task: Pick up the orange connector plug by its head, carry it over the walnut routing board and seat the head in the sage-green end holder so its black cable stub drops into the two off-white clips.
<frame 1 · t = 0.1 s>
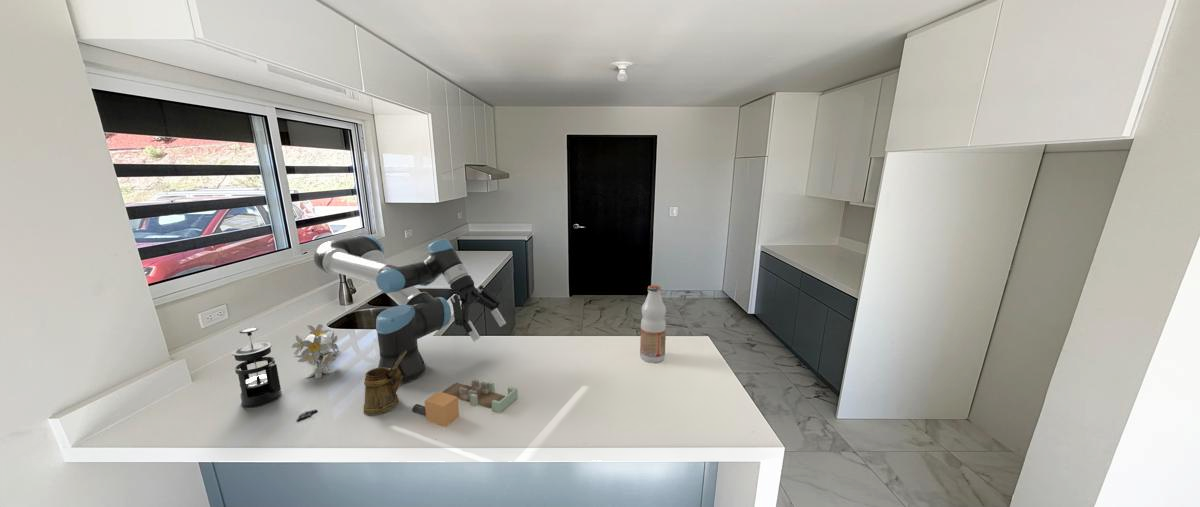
hand: (490, 332, 129), 15 cm above the worktop, tool tilted 35°, fingers open, 13 cm apart
fruit juice: (652, 358, 144), on the worktop
route board: (477, 399, 117), on the worktop
french press: (263, 399, 117), on the worktop
plug: (433, 418, 107), on the worktop
flower vase: (319, 364, 139), on the worktop
end holder: (493, 400, 114), resting on route board
wooden mug: (389, 406, 113), on the worktop
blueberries: (307, 418, 108), on the worktop
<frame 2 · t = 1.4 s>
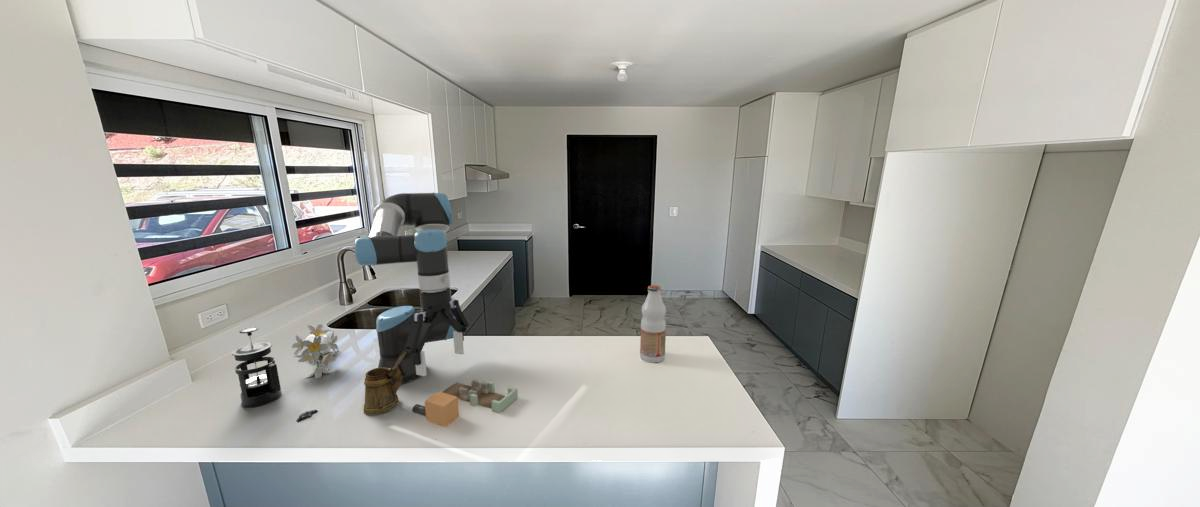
hand: (441, 363, 103), 17 cm above the worktop, tool pointing down, fingers open, 13 cm apart
nothing on the worktop moved.
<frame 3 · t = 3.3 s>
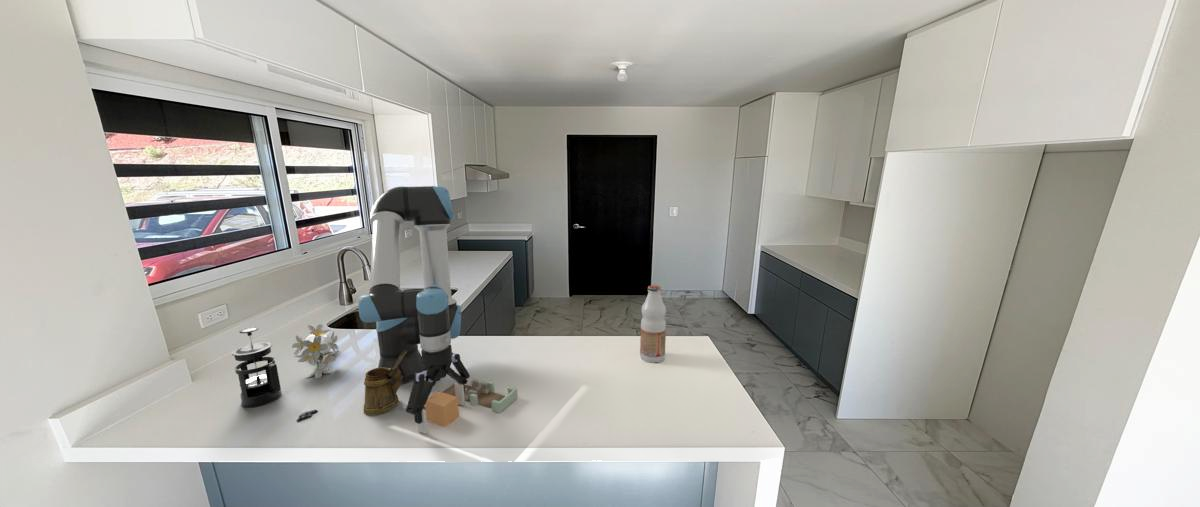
hand: (442, 417, 106), 1 cm above the worktop, tool pointing down, fingers open, 13 cm apart
nothing on the worktop moved.
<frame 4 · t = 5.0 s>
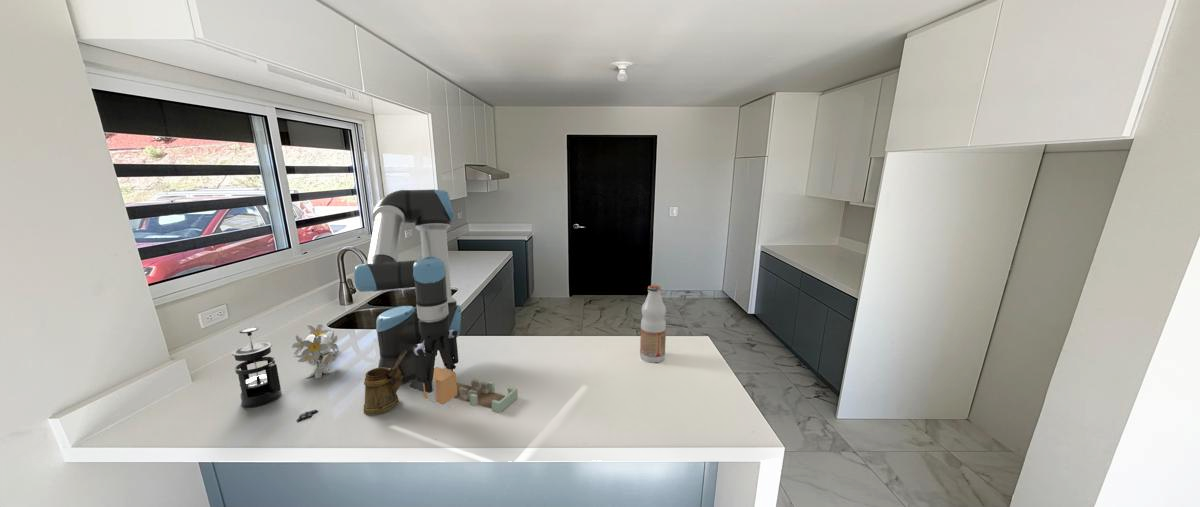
hand: (440, 395, 105), 8 cm above the worktop, tool pointing down, fingers closed on plug, 5 cm apart
plug: (431, 393, 107), point 7 cm above the worktop, touching gripper
everything else where it was.
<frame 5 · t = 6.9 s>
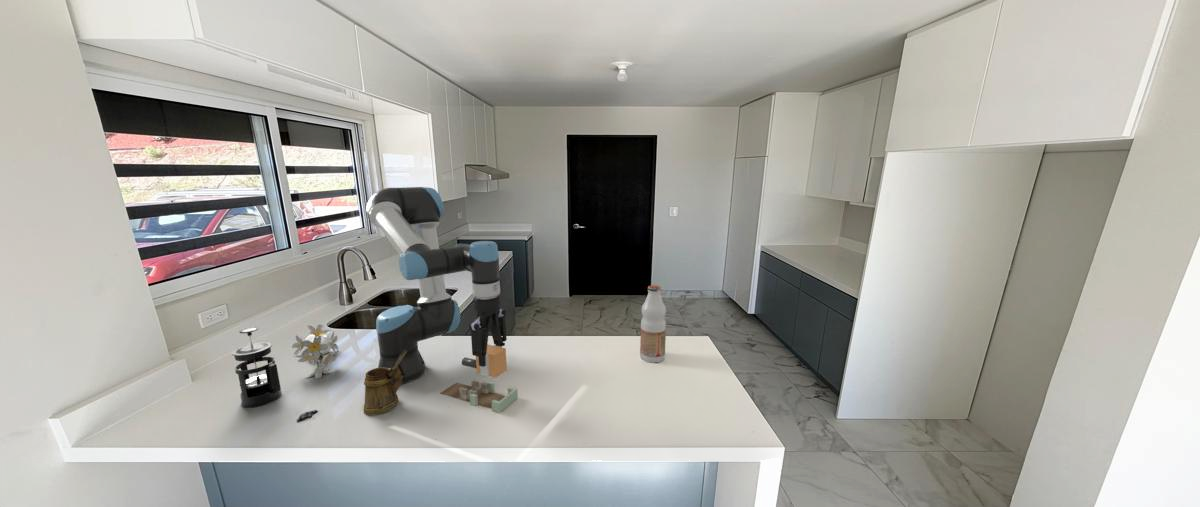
hand: (491, 370, 112), 11 cm above the worktop, tool pointing down, fingers closed on plug, 5 cm apart
plug: (482, 369, 114), point 11 cm above the worktop, touching gripper
everything else where it was.
when the fingers open (2 cm above the worktop, at t = 9.1 s): plug stays where it is, resting on route board.
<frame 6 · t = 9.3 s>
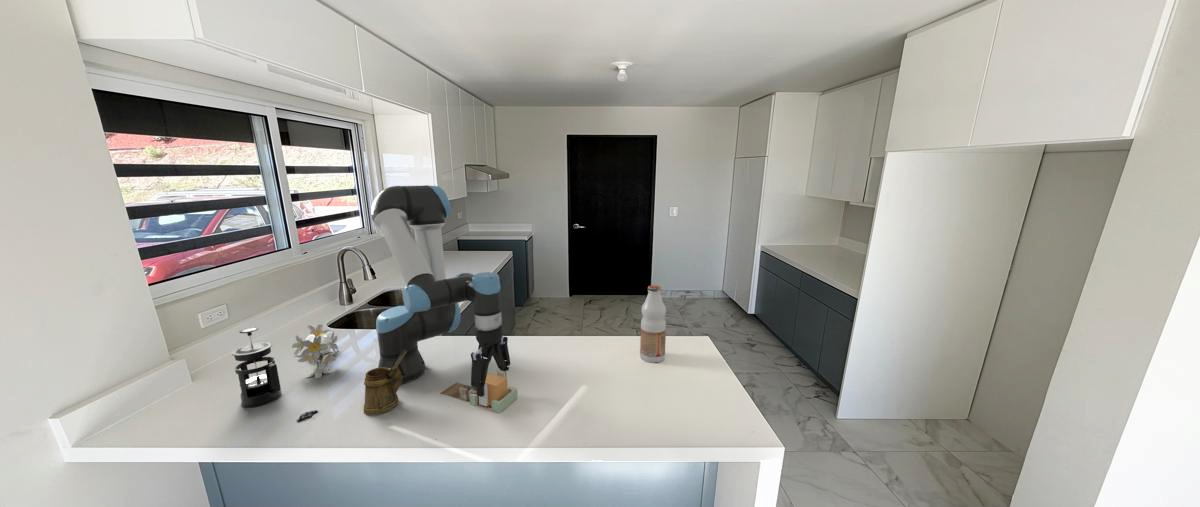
hand: (493, 397, 114), 2 cm above the worktop, tool pointing down, fingers open, 8 cm apart
plug: (484, 397, 115), point 1 cm above the worktop, touching route board
everything else where it was.
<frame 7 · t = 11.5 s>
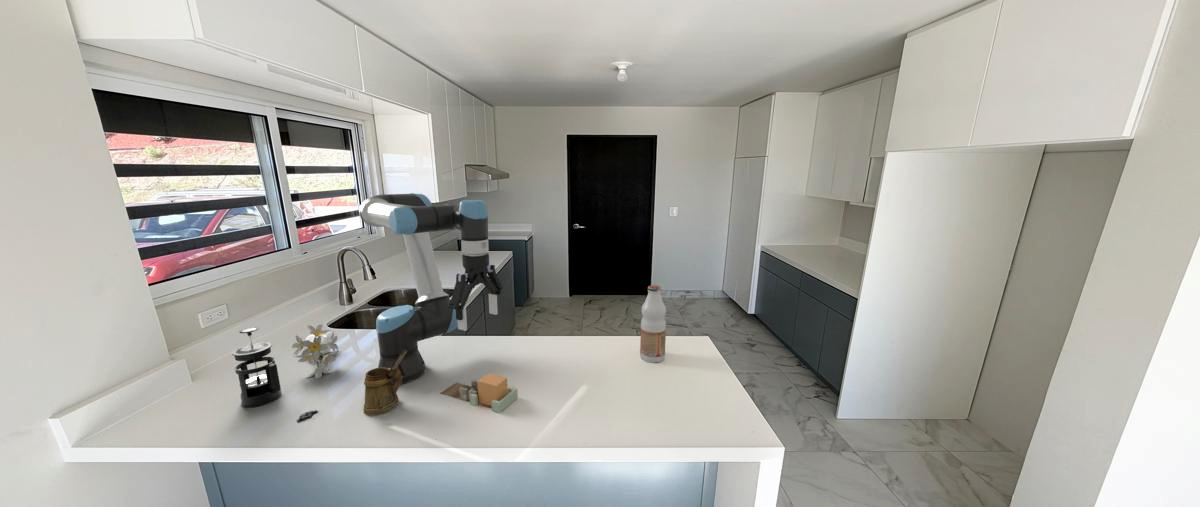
hand: (478, 321, 115), 24 cm above the worktop, tool pointing down, fingers open, 13 cm apart
nothing on the worktop moved.
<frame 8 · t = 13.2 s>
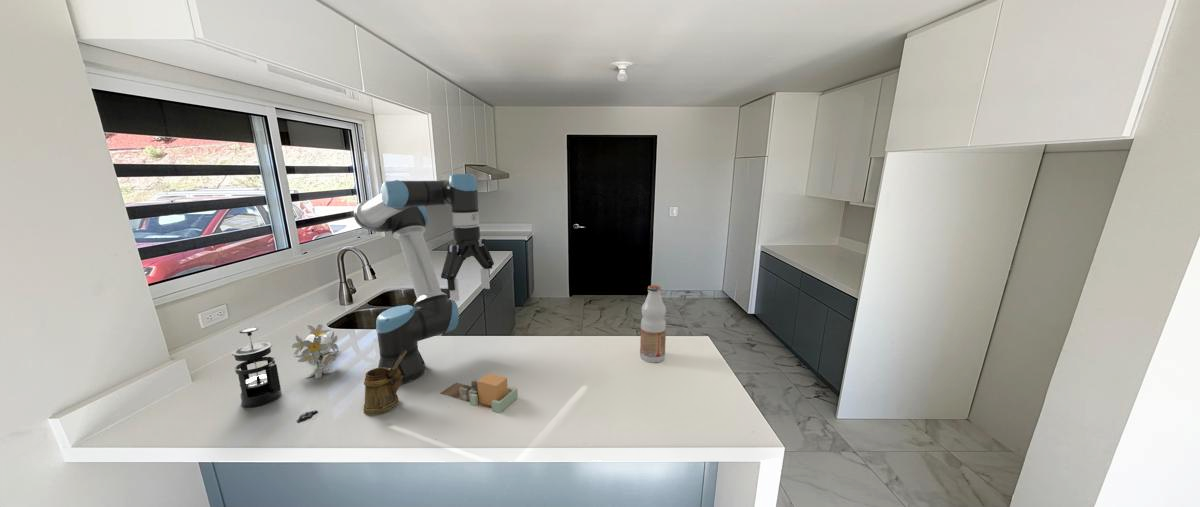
hand: (471, 294, 117), 32 cm above the worktop, tool pointing down, fingers open, 13 cm apart
nothing on the worktop moved.
at the end: plug 0.0 cm from the target spot on the end holder, point 0.0 cm above the end holder's base; plug tilted 0°; the gripper is holding nothing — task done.
